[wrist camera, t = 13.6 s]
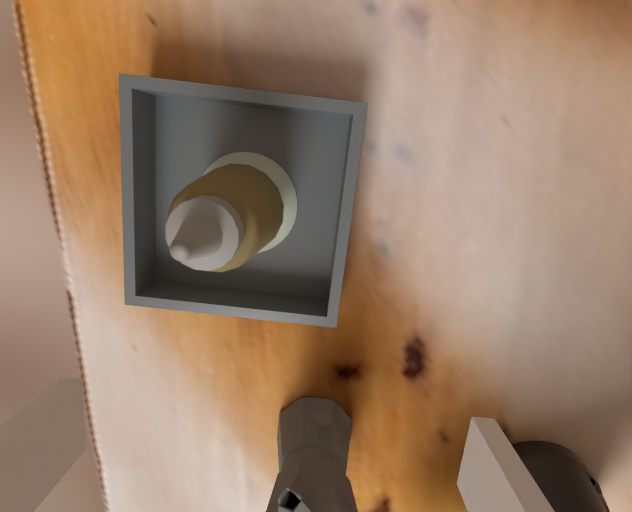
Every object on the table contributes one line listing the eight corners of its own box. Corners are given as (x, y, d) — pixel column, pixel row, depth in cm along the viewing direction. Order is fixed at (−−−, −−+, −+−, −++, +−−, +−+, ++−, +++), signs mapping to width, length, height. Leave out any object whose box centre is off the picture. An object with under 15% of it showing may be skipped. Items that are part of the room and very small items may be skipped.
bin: (334, 304, 41) (336, 327, 36) (150, 284, 41) (124, 304, 36) (360, 109, 36) (367, 102, 31) (149, 84, 36) (118, 73, 30)
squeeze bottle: (189, 187, 37) (71, 220, 20) (260, 145, 36) (202, 141, 18) (234, 258, 39) (161, 344, 21) (302, 220, 38) (285, 279, 20)
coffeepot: (259, 390, 44) (219, 545, 27) (337, 371, 44) (347, 517, 26) (298, 491, 48) (285, 683, 31) (370, 475, 47) (398, 663, 30)
